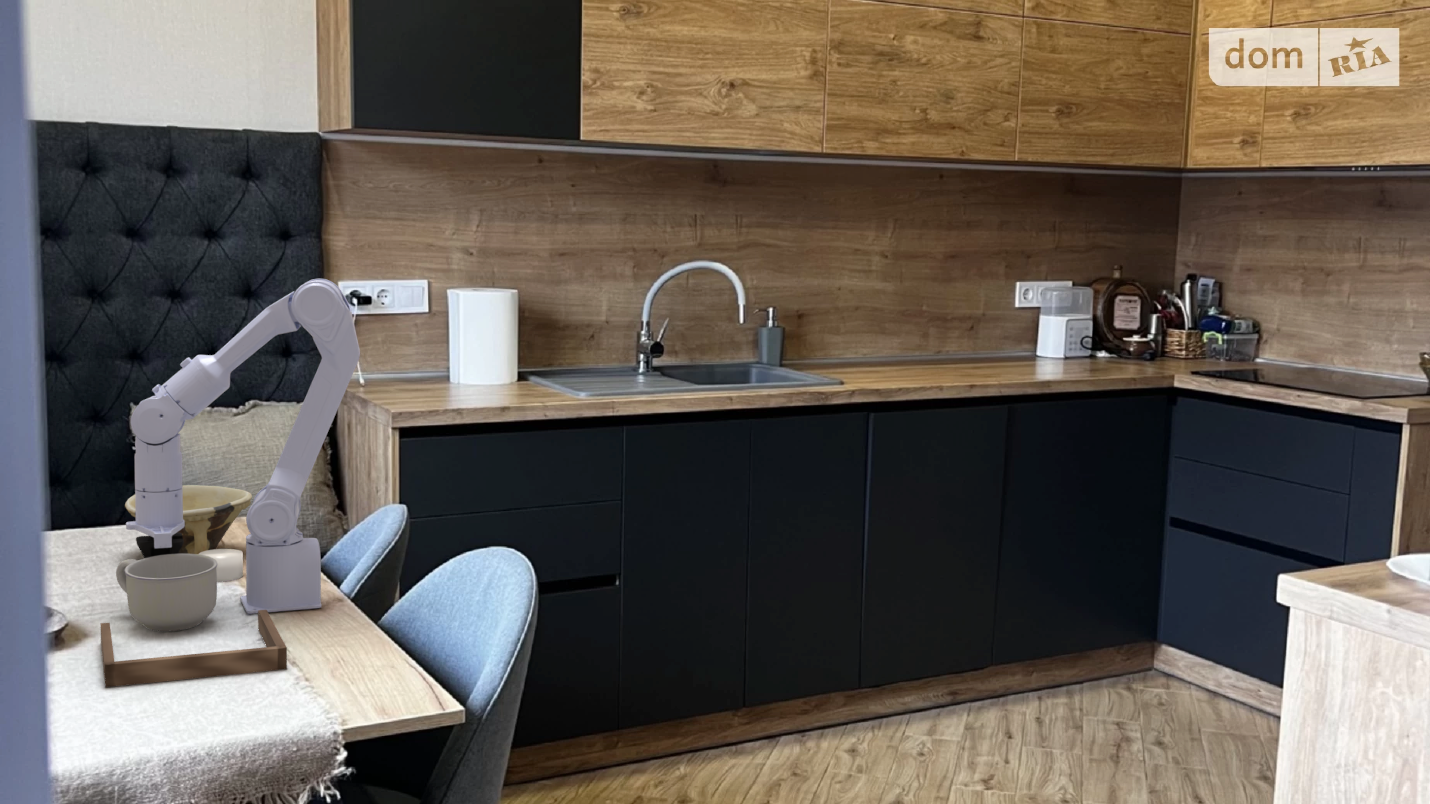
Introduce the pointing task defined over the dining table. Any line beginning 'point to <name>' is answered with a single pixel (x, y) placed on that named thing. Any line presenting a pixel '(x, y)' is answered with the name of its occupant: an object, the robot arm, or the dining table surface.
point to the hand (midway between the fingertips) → (160, 590)
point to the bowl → (206, 515)
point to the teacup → (169, 590)
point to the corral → (195, 660)
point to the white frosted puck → (227, 563)
